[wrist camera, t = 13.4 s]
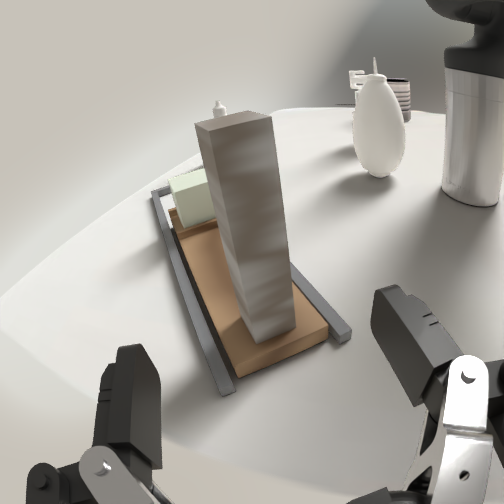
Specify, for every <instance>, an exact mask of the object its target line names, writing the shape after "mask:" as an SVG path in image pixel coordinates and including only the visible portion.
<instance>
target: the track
mask: <svg viewBox="0 0 504 504" xmlns="http://www.w3.org/2000/svg"><path fill="white" fill-rule="evenodd" d="M169 193H171V189H170V186H166V187H163V188H160V189H157V190H154V191H151V194H152V198H153V201H154V205H155V208H156V212H157V215H158V218H159V222H160V225H161V229H162V232H163V235H164V238H165V242H166V245H167V248H168V251H169V254H170V258H171V261H172V264H173V267H174V270H175V273H176V276H177V279H178V282H179V285H180V288H181V291H182V294H183V297H184V299H185V302H186V305H187V308H188V311H189V314H190V316H191V319H192V322H193V325H194V327H195V330H196V333H197V336H198V338H199V341H200V344H201V346H202V349H203V351H204V354H205V357H206V359H207V362H208V364H209V367H210V369H211V372H212V374H213V377H214V379H215V382H216V384H217V387H218V389H219V391H220V393H221V395H222V397H223V396H225V395H228V394H230V393H233V392H236V390H235V388H234V385H233V383H232V380H231V378H230V376H229V374H228V372H227V369H226V367H225V365H224V363H223V360H222V358H221V356H220V354H219V351H218V349H217V347H216V344H215V342H214V340H213V337H212V335H211V333H210V330H209V328H208V325H207V323H206V321H205V318H204V316H203V313H202V311H201V308H200V306H199V303H198V301H197V298H196V296H195V293H194V291H193V288H192V286H191V283H190V281H189V278H188V276H187V273H186V270H185V268H184V265H183V263H182V260H181V257H180V255H179V252H178V249H177V247H176V244H175V241H174V238H173V236H172V233H171V230H170V227H169V224H168V222H167V219H166V216H165V213H164V210H163V207H162V204H161V201H160V199H159V197H160V196H163V195H166V194H169ZM290 268H291V278H292V282H293V283H294V285H295V286H296V287H297V288H298V289H299V291H300V292H301V293H302V294H303V295H304V296H305V298H306V299H307V300H308V301H309V302H310V304H311V305H312V306H313V307H314V308H315V310H316V311H317V312H318V313H319V314H320V315H321V317H322V318H323V319H324V320H325V321H326V323H327V324H328V331H329V332H330V333H331V335H332V336H333V337H334V338H335V339H336V341H337V342H338V343H339V344H341V343H343V342H345V341H347V340H349V339H351V333H352V329H351V328H350V327H349V326H348V325H347V324H346V323H345V321H344V320H343V319H342V318H341V317H340V316H339V315H338V314H337V312H336V311H335V310H334V309H333V308H332V307H331V306H330V305H329V304H328V302H327V301H326V300H325V299H324V298H323V297H322V296H321V295H320V294H319V293H318V291H317V290H316V289H315V288H314V287H313V286H312V285H311V284H310V283H309V282H308V280H307V279H306V278H305V277H304V276H303V275H302V274H301V273H300V272H299V271H298V269H297V268H296V267H295V266H294V265H293V264H292V263H291V262H290Z"/></svg>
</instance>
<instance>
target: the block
mask: <svg viewBox="0 0 504 504" xmlns="http://www.w3.org/2000/svg"><path fill="white" fill-rule="evenodd" d="M168 182H169V186H170V189H171V193H172V196H173V199H174V203H175V206H176V210H177V213H178V216H179V218H180V221H181V223H182V225H183V227H184V229H185V228H188V227H191V226H193V225H196V224H199V223H202V222H205V221H208V220H211V219H214V218H216V215H215V211H214V207H213V203H212V199H211V194H210V190H209V186H208V181H207V177H206V173H205V169H204V168H202V169H199V170H196V171H192V172H189V173H186V174H183V175H180V176H177V177H173V178H170V179H168Z"/></svg>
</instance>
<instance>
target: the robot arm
mask: <svg viewBox="0 0 504 504" xmlns="http://www.w3.org/2000/svg"><path fill="white" fill-rule="evenodd" d="M426 2H427V3H428V5H429V6H430V7H431V8H432V9H433V10H434V11H435V12H436V13H438V14H440V15H441V16H443V17H446V18H449V19H452V20H457V21H462V22H467V23H472V24H474V25H475V28H474V32H475V33H474V36H473V38H472V39H471V40H469V41H467V42H466V43H463V44H459V45H454V46H450V47H447V48H446V49H445V51H444V61H445V83H446V130H445V151H444V164H443V176H442V189H443V191H444V192H445V193H446V194H448V195H449V196H450V197H452V198H454V199H456V200H458V201H460V202H463V203H466V204H470V205H475V206H492V205H494V204H496V203H497V202H498V198H499V193H500V188H501V182H502V176H503V170H504V0H426ZM371 329H372V333H373V335H374V337H375V339H376V341H377V342H378V344H379V346H380V348H381V349H382V351H383V353H384V354H385V356H386V358H387V360H388V361H389V363H390V365H391V367H392V368H393V370H394V372H395V374H396V376H397V377H398V379H399V381H400V383H401V384H402V386H403V388H404V390H405V392H406V394H407V395H408V397H409V399H410V401H411V403H412V405H413V406H414V407H416V406H418V405H420V404H422V403H425V405H426V407H427V410H426V412H425V417H424V422H423V427H422V431H421V436H420V440H419V444H418V448H417V452H416V456H415V459H414V462H413V464H412V466H411V467H410V470H409V472H408V474H407V477H406V480H405V483H404V486H403V489H402V491H389V492H388V489H387V487H385V488H383V489H380V490H378V491H375V492H373V493H370V494H367V495H365V496H362V497H359V498H357V499H354V500H352V501H350V502H348V503H347V504H483V501H484V496H485V492H486V487H487V481H488V476H489V470H490V463H491V456H492V448H493V446H494V448H495V450H496V453H497V455H498V457H499V459H500V461H501V464H502V466H503V468H504V360H498V361H492V362H486V363H483V362H482V361H481V360H480V359H478V358H476V357H473V356H465V355H464V354H463V353H462V351H461V350H460V349H459V347H458V346H457V345H456V343H455V342H454V341H453V339H452V338H451V337H450V335H449V334H448V333H447V331H446V330H445V329H444V327H443V326H442V325H441V323H439V322H438V319H437V318H436V317H435V316H434V315H432V312H431V311H430V309H429V308H428V307H427V306H426V304H425V303H424V302H423V301H421V300H420V299H418V298H416V297H415V296H413V295H409V296H406V294H405V293H404V292H403V291H402V289H401V288H400V287H399V286H398V285H396V284H395V285H391V286H388V287H385V288H381V289H378V290H376V291H375V293H374V300H373V307H372V314H371ZM99 390H100V393H99V396H98V403H97V411H96V419H95V428H94V437H93V445H92V447H91V448H90V449H88V450H87V451H86V452H85V453H84V454H83V455H82V457H81V459H80V461H79V462H77V463H74V464H71V465H67V466H64V467H61V468H58V469H56V468H55V467H53V466H51V465H50V464H47V463H39V464H37V465H35V466H34V467H33V468H32V469H31V470H30V472H29V474H28V477H27V489H26V504H174V503H173V502H172V500H171V499H170V498H169V497H167V495H166V494H165V493H164V492H163V491H162V490H161V489H160V488H159V487H158V486H157V484H156V483H155V482H154V481H153V480H152V470H155V469H162V449H161V448H162V447H161V383H160V377H159V374H158V371H157V369H156V368H155V366H154V364H153V363H152V361H151V359H150V358H149V356H148V354H147V352H146V351H145V349H144V347H143V346H142V345H141V344H134V345H127V346H121V347H119V348H118V350H117V356H116V363H111V364H108V366H107V368H106V369H105V371H104V373H103V375H102V376H101V383H100V389H99Z"/></svg>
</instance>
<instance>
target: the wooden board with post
mask: <svg viewBox="0 0 504 504" xmlns="http://www.w3.org/2000/svg"><path fill="white" fill-rule="evenodd" d="M195 129H196V133H197V137H198V142H199V147H200V151H201V155H202V160H203V164H204V169H205V173H206V177H207V181H208V186H209V190H210V194H211V199H212V203H213V207H214V211H215V215H216V218H214V219H211V220H208V221H205V222H202V223H199V224H196V225H193V226H191V227H188V228H185V229H184V227H183V225H182V223H181V221H180V218H179V216H178V213H177V210H176V207H175V208H172V209H169V210H168V212H169V215H170V218H171V221H172V225H173V227H174V230H175V233H176V235H177V238H178V240H179V243H180V245H181V248H182V250H183V253H184V255H185V258H186V260H187V263H188V265H189V268H190V270H191V273H192V275H193V278H194V280H195V282H196V285H197V287H198V290H199V292H200V294H201V297H202V299H203V301H204V304H205V306H206V308H207V311H208V313H209V315H210V318H211V320H212V322H213V324H214V327H215V329H216V331H217V333H218V336H219V338H220V340H221V342H222V344H223V347H224V349H225V351H226V353H227V355H228V358H229V360H230V362H231V364H232V366H233V368H234V370H235V373H236V375H237V377H238V378H241V377H243V376H246V375H248V374H251V373H253V372H255V371H258V370H260V369H262V368H265V367H267V366H270V365H272V364H274V363H276V362H279V361H281V360H283V359H285V358H288V357H290V356H292V355H294V354H297V353H299V352H301V351H303V350H305V349H307V348H309V347H312V346H314V345H316V344H318V343H320V342H322V341H324V340H326V339H328V324H327V323H326V321H325V320H324V319H323V318H322V317H321V315H320V314H319V313H318V312H317V311H316V310H315V308H314V307H313V306H312V305H311V304H310V302H309V301H308V300H307V299H306V298H305V296H304V295H303V294H302V293H301V292H300V291H299V289H298V288H297V287H296V286H295V285H294V283H293V282H292V278H291V268H290V259H289V250H288V241H287V232H286V223H285V215H284V207H283V198H282V191H281V183H280V175H279V167H278V160H277V153H276V145H275V138H274V131H273V124H272V117H271V116H268V115H264V114H260V113H256V112H251V111H244V112H239V113H235V114H231V115H226V116H222V117H218V118H214V119H210V120H206V121H202V122H198V123H195Z"/></svg>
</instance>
